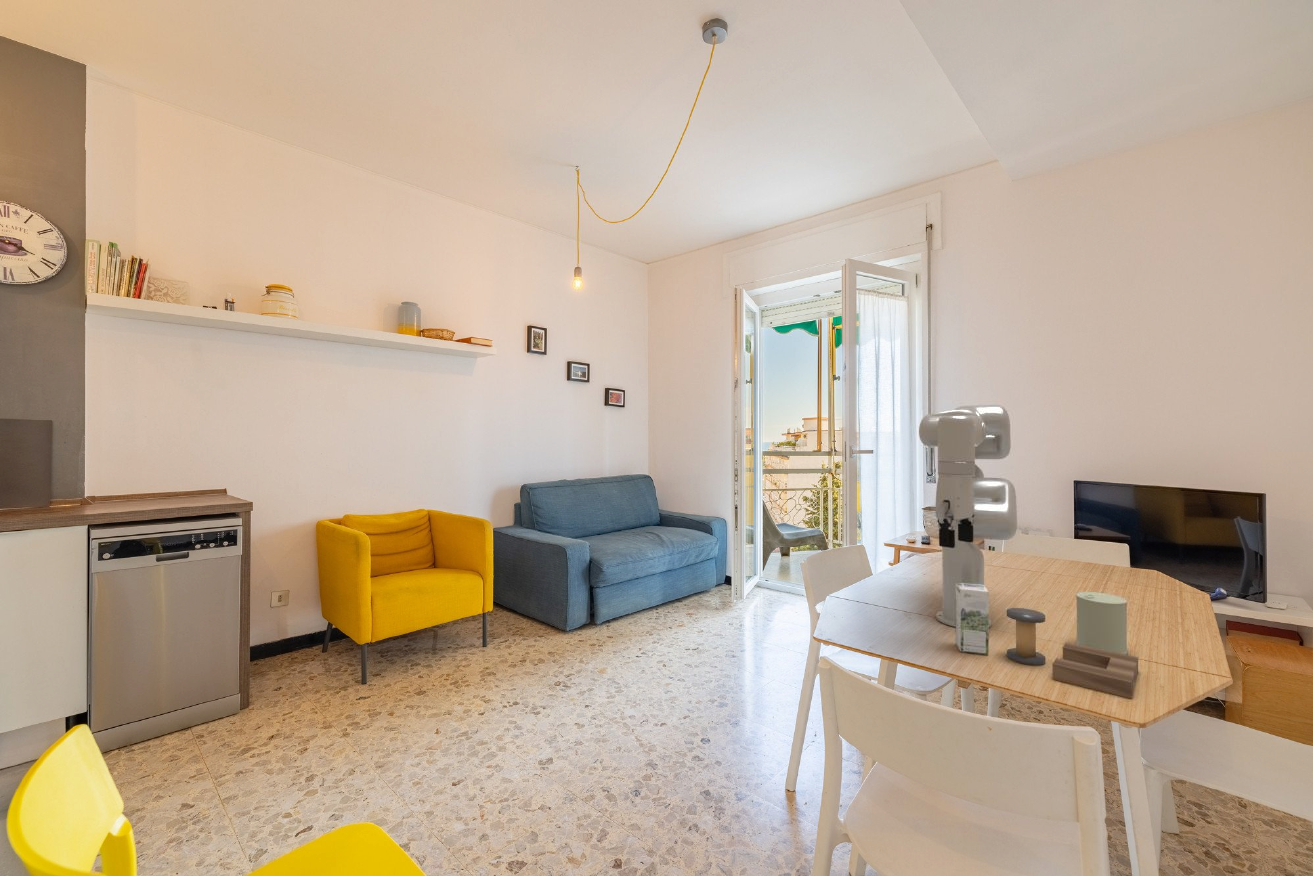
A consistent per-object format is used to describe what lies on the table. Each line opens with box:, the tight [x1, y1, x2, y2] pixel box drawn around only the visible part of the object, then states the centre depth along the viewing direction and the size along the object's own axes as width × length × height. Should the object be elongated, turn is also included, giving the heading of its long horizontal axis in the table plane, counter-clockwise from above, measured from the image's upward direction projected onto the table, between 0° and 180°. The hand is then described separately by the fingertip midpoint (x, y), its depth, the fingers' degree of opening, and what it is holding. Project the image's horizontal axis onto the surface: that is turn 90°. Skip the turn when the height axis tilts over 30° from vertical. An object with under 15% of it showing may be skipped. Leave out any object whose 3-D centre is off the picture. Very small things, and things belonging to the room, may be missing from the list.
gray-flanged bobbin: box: [1006, 607, 1047, 667], centre depth 120 cm, size 7×7×10 cm
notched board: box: [1051, 641, 1139, 700], centre depth 112 cm, size 16×12×3 cm
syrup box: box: [955, 583, 990, 656], centre depth 126 cm, size 6×6×14 cm
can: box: [1075, 591, 1129, 655], centre depth 126 cm, size 9×9×12 cm
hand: (956, 544), depth 127 cm, fingers open, 9 cm apart
